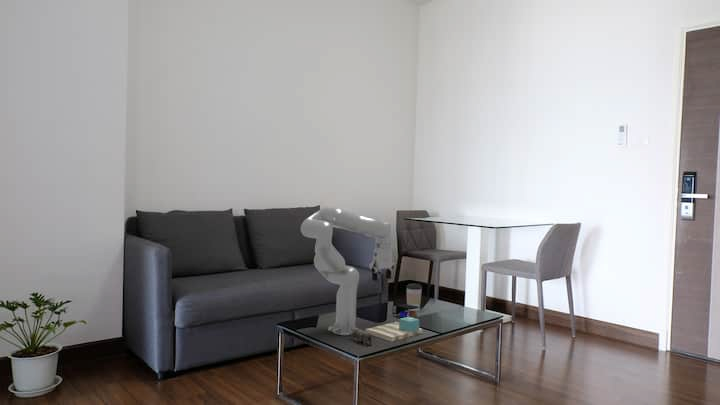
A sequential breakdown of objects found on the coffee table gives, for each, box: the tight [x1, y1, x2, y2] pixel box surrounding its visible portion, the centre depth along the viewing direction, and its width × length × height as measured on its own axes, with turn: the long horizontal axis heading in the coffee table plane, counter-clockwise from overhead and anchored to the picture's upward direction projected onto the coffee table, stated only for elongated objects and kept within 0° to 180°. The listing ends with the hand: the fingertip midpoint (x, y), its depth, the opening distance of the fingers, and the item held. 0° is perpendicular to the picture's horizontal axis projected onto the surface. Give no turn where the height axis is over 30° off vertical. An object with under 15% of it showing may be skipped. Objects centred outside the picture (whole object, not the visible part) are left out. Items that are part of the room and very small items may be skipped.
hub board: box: [365, 321, 424, 343], centre depth 245 cm, size 22×17×6 cm
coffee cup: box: [406, 282, 423, 312], centre depth 295 cm, size 9×9×15 cm
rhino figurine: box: [350, 328, 373, 347], centre depth 230 cm, size 4×14×6 cm, turn 41°
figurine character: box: [391, 303, 419, 319], centre depth 275 cm, size 7×8×15 cm
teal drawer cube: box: [398, 317, 420, 332], centre depth 245 cm, size 7×7×5 cm
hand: (381, 279), depth 262 cm, fingers open, 9 cm apart
